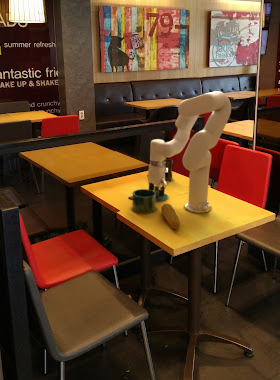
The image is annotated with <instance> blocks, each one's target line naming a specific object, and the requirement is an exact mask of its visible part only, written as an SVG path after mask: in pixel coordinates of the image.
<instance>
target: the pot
mask: <svg viewBox="0 0 280 380" xmlns="http://www.w3.org/2000/svg"><path fill="white" fill-rule="evenodd" d="M131 194H132V195H131V196H128V200H129V201H131V202H132V203H131V206H132V207H131V209H132V210H133V211H134V212H137V213H141V214H148V213H152V212H154V211H155V210H156V206H157V205H156V204H157V203H156V202H157V201H156V195H157V194H159V192H158V191H152V190H149V188H148V189H147V188H141V189H135V190H133V192H132V193H131Z"/></svg>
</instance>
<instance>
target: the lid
mask: <svg viewBox="0 0 280 380" xmlns="http://www.w3.org/2000/svg"><path fill="white" fill-rule="evenodd" d="M159 190H160V189H159V186H156V185H154V191H158V192H159ZM168 199H169V195H168V194H167V193H165V192H164V196H162V197H159V194H157V195H156V202H164V201H167V200H168Z"/></svg>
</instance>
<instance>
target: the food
mask: <svg viewBox="0 0 280 380" xmlns="http://www.w3.org/2000/svg"><path fill="white" fill-rule="evenodd" d="M160 212H161V214H162V215H163V217H164V219H165V220H166V221H167V223H168V225H169V226H170V227H171V228H172V229H174V230H178V229H180V226H181V222H180V218H179V215H178V214H177V213H176V211H175V209H174V207H173V206H172V204H169V203H163V204H162V205H161V207H160Z"/></svg>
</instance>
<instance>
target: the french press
mask: <svg viewBox="0 0 280 380" xmlns="http://www.w3.org/2000/svg"><path fill="white" fill-rule="evenodd" d="M173 164H174V160H172V159H169V158H167V157H164V169H165V181H166V182H169V183H170V182H173ZM166 166H167V167H166Z"/></svg>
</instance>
